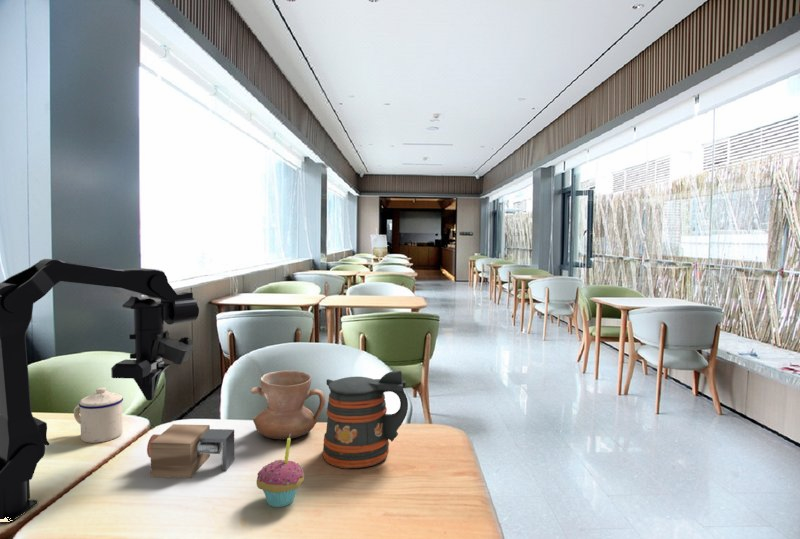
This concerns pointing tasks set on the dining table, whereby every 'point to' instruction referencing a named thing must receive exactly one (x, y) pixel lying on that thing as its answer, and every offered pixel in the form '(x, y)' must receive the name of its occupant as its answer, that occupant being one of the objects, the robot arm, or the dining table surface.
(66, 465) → the dining table surface
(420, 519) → the dining table surface
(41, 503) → the dining table surface
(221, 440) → the bracket
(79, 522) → the dining table surface
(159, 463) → the hitch block
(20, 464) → the robot arm
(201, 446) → the pin
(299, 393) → the ceramic jug
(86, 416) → the teacup with lid
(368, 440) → the beer stein
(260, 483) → the cupcake
